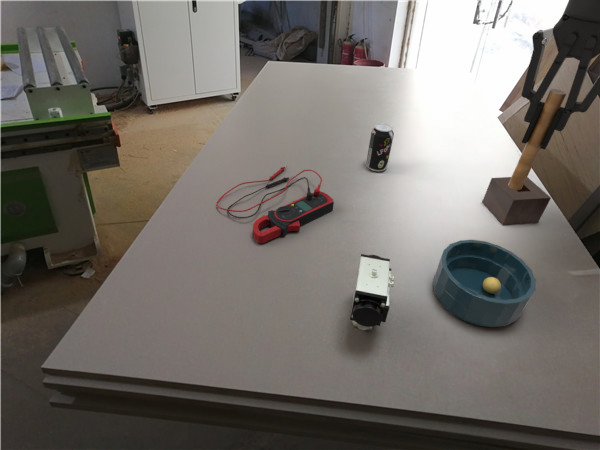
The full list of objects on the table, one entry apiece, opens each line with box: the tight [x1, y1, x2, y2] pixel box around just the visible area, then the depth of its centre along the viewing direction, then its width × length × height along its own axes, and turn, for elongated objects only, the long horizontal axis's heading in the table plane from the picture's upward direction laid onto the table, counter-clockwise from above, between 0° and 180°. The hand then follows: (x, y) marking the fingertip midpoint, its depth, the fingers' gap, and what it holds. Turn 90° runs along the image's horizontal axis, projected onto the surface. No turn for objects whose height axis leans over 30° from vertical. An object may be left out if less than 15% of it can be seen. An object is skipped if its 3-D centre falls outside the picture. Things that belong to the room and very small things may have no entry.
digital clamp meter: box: [215, 164, 334, 244], centre depth 94 cm, size 23×4×25 cm
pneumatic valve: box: [349, 253, 395, 331], centre depth 65 cm, size 6×12×12 cm, turn 168°
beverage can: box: [365, 122, 395, 172], centre depth 107 cm, size 6×6×12 cm
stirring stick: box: [508, 88, 567, 190], centre depth 70 cm, size 2×2×18 cm
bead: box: [483, 277, 501, 294], centre depth 74 cm, size 3×3×3 cm
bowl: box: [432, 239, 537, 328], centre depth 73 cm, size 16×16×7 cm
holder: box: [481, 176, 552, 226], centre depth 95 cm, size 9×9×7 cm
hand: (534, 143), depth 70 cm, fingers closed on stirring stick, 2 cm apart
